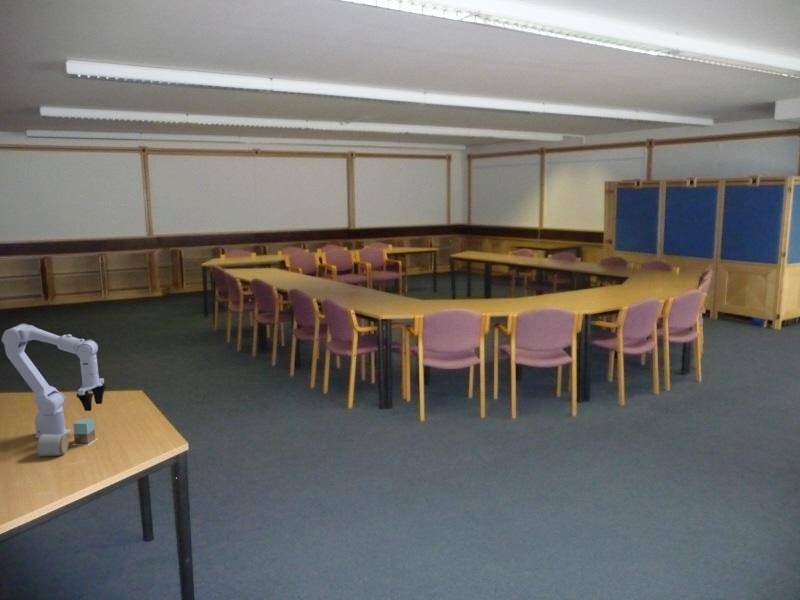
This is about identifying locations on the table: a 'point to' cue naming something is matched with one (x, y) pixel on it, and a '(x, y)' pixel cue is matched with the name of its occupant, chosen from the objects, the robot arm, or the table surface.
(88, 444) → the mat
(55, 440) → the ceramic mug
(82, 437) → the walnut block
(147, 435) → the table surface
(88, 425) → the teal block
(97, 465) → the table surface
